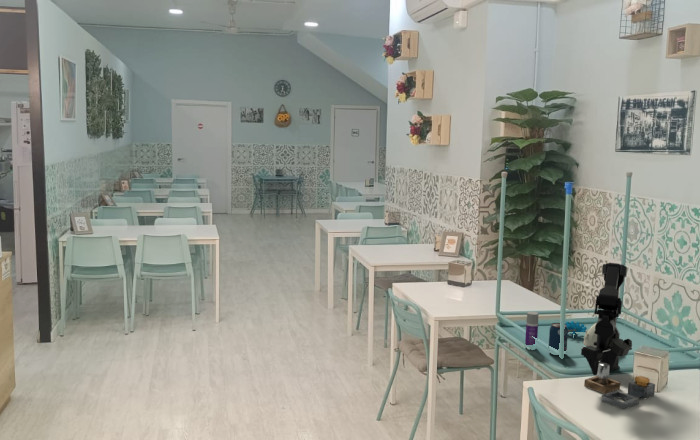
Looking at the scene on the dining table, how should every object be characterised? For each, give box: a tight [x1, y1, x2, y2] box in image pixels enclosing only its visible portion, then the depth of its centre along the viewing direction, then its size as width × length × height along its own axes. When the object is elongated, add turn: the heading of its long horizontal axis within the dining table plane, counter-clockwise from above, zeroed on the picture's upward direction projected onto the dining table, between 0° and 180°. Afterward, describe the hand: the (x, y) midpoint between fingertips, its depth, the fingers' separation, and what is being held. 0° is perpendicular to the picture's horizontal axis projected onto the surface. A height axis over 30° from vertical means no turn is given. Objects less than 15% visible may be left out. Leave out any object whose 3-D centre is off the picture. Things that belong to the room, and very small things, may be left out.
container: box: [524, 311, 539, 345], centre depth 272 cm, size 5×5×15 cm
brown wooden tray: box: [583, 375, 621, 395], centre depth 234 cm, size 8×8×2 cm
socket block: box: [600, 379, 656, 410], centre depth 224 cm, size 8×19×4 cm, turn 125°
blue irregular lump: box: [565, 320, 588, 335], centre depth 289 cm, size 11×6×10 cm
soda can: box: [548, 322, 569, 351], centre depth 267 cm, size 7×7×12 cm
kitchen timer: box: [583, 322, 597, 347], centre depth 273 cm, size 14×14×15 cm
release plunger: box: [634, 375, 651, 386], centre depth 228 cm, size 5×5×5 cm
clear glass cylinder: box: [596, 363, 610, 386], centre depth 233 cm, size 4×4×8 cm
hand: (603, 372), depth 233 cm, fingers open, 9 cm apart
